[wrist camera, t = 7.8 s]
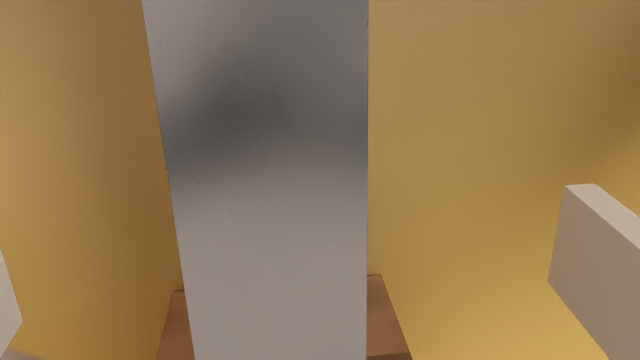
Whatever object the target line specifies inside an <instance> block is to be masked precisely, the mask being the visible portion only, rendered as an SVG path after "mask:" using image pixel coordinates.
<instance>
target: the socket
mask: <svg viewBox="0 0 640 360" xmlns="http://www.w3.org/2000/svg"><path fill="white" fill-rule="evenodd" d="M157 360H195V357H194V350H193V343H192V336H191V330H190V323H189V316H188V310H187V303H186V296H185V291H175V292H173V294H172V298H171V302H170V306H169V310H168V314H167V319H166V323H165V327H164V331H163V335H162V339H161V343H160V348H159V352H158V356H157ZM366 360H412V357H411V355H410V352H409V349H408V347H407V344H406V341H405V339H404V336H403V333H402V331H401V328H400V325H399V322H398V320H397V317H396V314H395V312H394V309H393V306H392V304H391V301H390V298H389V296H388V293H387V290H386V288H385V285H384V282H383V280H382V277H381V275H369V276H367V311H366Z"/></svg>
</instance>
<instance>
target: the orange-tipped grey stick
mask: <svg viewBox="0 0 640 360" xmlns="http://www.w3.org/2000/svg"><path fill="white" fill-rule="evenodd" d="M141 2H142V8H143V15H144V22H145V28H146V35H147V42H148V49H149V55H150V62H151V69H152V75H153V82H154V89H155V95H156V102H157V109H158V115H159V122H160V129H161V136H162V142H163V149H164V156H165V162H166V169H167V176H168V182H169V189H170V196H171V203H172V209H173V216H174V223H175V229H176V236H177V243H178V249H179V256H180V263H181V269H182V276H183V283H184V290H185V296H186V303H187V310H188V316H189V323H190V330H191V336H192V343H193V350H194V357H195V360H366V311H367V152H368V0H141Z"/></svg>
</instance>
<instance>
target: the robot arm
mask: <svg viewBox="0 0 640 360" xmlns="http://www.w3.org/2000/svg"><path fill="white" fill-rule="evenodd" d="M548 283H549V285H550V286H551V287H552V288H553V289H554V291H555V292H556V293H557V294H558V296H559V297H560V298H561V299H562V301H563V302H564V303H565V304H566V306H567V307H568V308H569V309H570V311H571V312H572V313H573V314H574V316H575V317H576V318H577V319H578V320H579V322H580V323H581V324H582V325H583V327H584V328H585V329H586V330H587V332H588V333H589V334H590V335H591V337H592V338H593V339H594V340H595V342H596V343H597V344H598V345H599V347H600V348H601V349H602V350H603V351H604V353H605V354H606V355H607V356H608V358H609V359H610V360H640V217H639V216H637V215H636V214H635V213H633V212H632V211H631V210H629V209H628V208H627V207H625V206H624V205H623V204H621V203H620V202H619V201H618V200H616V199H615V198H614V197H612V196H611V195H610V194H608V193H607V192H606V191H604V190H603V189H602V188H600V187H599V186H598V185H596V184H595V183H593V184H577V185H564V189H563V195H562V200H561V206H560V212H559V218H558V224H557V230H556V236H555V242H554V248H553V254H552V259H551V265H550V271H549V277H548ZM22 323H23V319H22V316H21V313H20V310H19V306H18V303H17V300H16V297H15V293H14V290H13V287H12V283H11V280H10V277H9V274H8V270H7V267H6V264H5V260H4V257H3V254H2V251H1V247H0V358H1V356H2V354H3V353H4V351H5V350H6V348H7V347H8V345H9V344H10V342H11V340H12V339H13V337H14V336H15V334H16V332H17V331H18V329H19V328H20V326H21V324H22Z"/></svg>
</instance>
